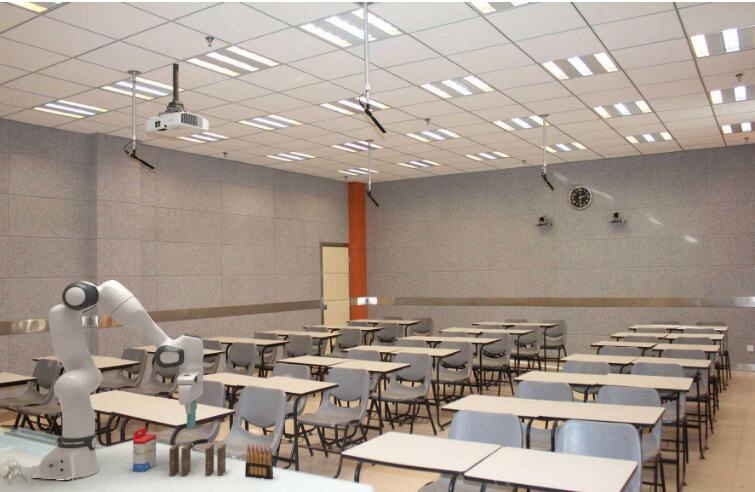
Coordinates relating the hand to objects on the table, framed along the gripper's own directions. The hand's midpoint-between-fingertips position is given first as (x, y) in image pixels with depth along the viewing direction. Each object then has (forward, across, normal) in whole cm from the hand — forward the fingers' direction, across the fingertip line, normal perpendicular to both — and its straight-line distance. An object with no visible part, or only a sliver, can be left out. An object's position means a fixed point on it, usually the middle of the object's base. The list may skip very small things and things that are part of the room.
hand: (191, 411), depth 245 cm
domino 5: (+20, +10, +14) cm, 27 cm away
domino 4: (+21, +10, +10) cm, 25 cm away
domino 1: (+21, +10, -3) cm, 23 cm away
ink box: (+21, +3, -17) cm, 27 cm away
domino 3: (+6, 0, 0) cm, 6 cm away
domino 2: (+21, +10, +1) cm, 23 cm away
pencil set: (+21, +15, +29) cm, 39 cm away
